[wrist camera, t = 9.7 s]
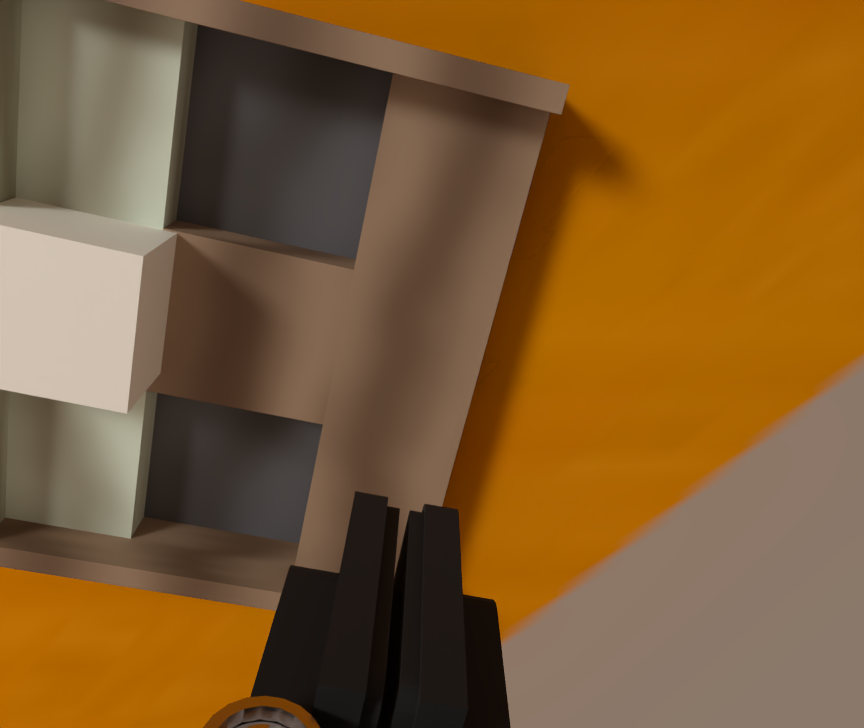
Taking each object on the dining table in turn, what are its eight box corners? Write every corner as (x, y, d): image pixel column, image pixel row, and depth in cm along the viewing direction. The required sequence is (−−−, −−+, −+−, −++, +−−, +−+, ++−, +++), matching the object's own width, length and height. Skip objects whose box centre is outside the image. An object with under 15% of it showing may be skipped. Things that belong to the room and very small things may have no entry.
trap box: (547, 84, 29) (569, 85, 25) (414, 577, 37) (415, 633, 33) (21, -51, 27) (-41, -72, 23) (3, 508, 35) (-44, 559, 31)
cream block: (177, 233, 29) (143, 256, 25) (160, 372, 31) (126, 413, 27) (16, 197, 28) (-43, 215, 24) (10, 342, 30) (-45, 380, 26)
